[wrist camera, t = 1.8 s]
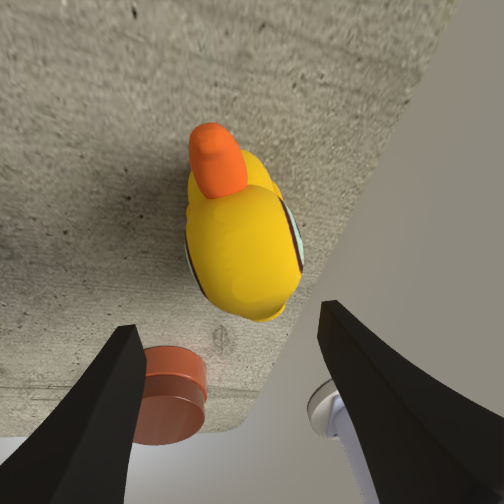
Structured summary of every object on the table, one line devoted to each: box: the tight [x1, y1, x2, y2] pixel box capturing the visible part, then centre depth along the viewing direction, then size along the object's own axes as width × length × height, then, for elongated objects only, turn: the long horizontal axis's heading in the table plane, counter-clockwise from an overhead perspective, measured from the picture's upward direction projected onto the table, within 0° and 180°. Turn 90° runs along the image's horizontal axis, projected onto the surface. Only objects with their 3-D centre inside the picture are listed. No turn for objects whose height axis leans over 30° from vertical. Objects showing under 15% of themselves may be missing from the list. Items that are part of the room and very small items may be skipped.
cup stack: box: [133, 346, 207, 445], centre depth 25 cm, size 7×7×4 cm
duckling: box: [185, 123, 304, 322], centre depth 14 cm, size 11×5×10 cm, turn 14°
